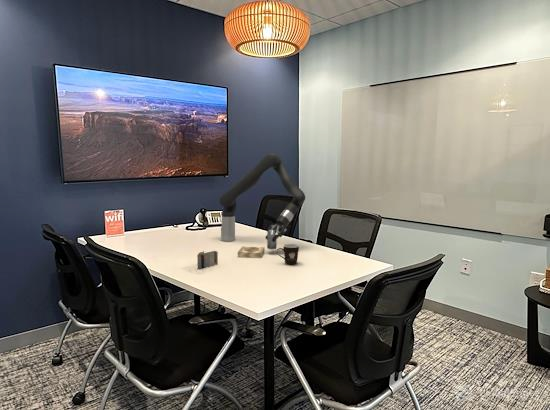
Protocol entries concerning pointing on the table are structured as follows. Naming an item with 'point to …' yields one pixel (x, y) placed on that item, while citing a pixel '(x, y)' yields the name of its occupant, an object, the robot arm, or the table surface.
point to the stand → (251, 252)
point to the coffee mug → (290, 253)
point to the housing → (269, 238)
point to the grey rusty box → (207, 259)
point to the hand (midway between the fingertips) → (269, 239)
